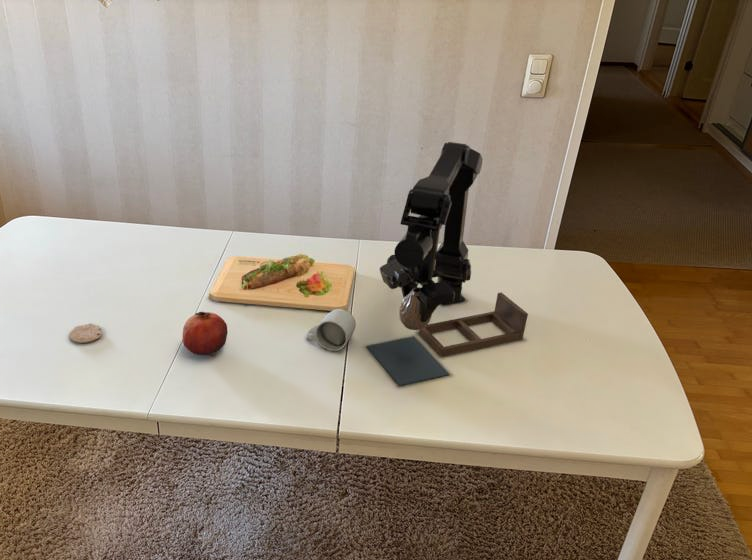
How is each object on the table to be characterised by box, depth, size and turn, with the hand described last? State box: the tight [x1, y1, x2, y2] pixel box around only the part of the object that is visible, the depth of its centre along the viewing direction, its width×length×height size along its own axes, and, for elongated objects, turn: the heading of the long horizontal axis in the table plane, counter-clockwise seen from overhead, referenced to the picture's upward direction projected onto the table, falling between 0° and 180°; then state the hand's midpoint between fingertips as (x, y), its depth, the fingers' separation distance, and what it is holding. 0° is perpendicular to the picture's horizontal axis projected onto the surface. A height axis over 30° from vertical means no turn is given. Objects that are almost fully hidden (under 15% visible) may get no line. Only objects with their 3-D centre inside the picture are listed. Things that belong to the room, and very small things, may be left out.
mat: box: [366, 336, 450, 387], centre depth 161 cm, size 16×12×1 cm
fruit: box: [181, 311, 229, 356], centre depth 163 cm, size 11×10×10 cm
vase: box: [398, 286, 433, 331], centre depth 154 cm, size 7×7×9 cm
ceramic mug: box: [306, 309, 357, 352], centre depth 166 cm, size 11×8×8 cm
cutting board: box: [208, 253, 355, 312], centre depth 188 cm, size 35×23×8 cm
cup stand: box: [418, 291, 529, 358], centre depth 167 cm, size 11×21×7 cm, turn 109°
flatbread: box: [68, 322, 103, 343], centre depth 171 cm, size 8×8×1 cm
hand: (415, 313), depth 155 cm, fingers closed on vase, 7 cm apart
